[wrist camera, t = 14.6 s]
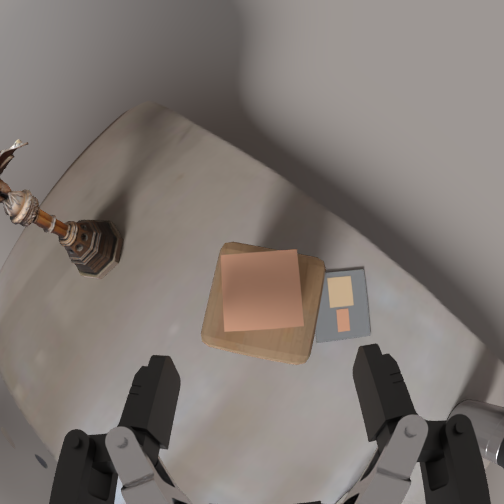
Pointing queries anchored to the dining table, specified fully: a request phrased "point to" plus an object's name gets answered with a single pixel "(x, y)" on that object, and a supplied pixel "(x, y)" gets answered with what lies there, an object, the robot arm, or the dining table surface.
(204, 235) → the dining table surface
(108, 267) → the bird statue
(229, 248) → the wooden block
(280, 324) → the terracotta block
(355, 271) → the tile
